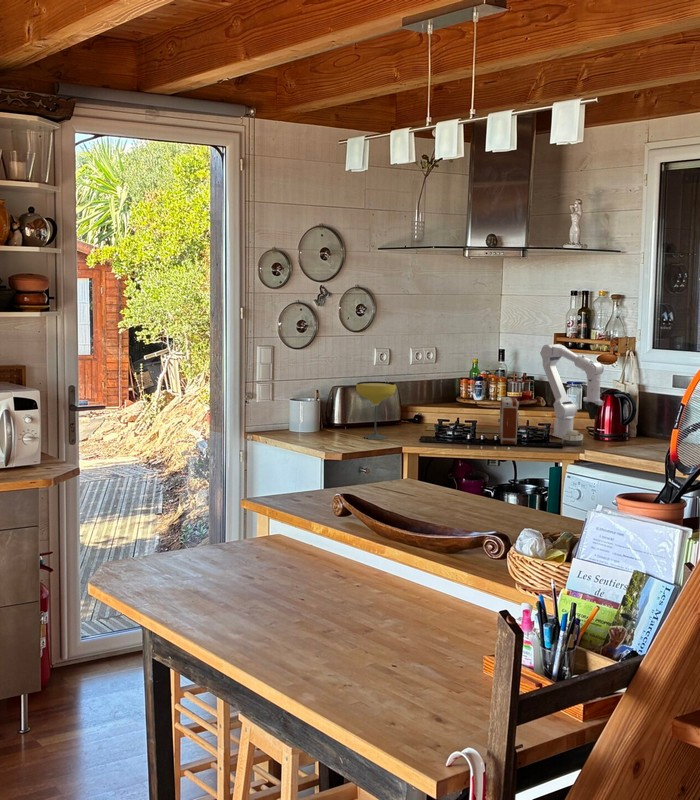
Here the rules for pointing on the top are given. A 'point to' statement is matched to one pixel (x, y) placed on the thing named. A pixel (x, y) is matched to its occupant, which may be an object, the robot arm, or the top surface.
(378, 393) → the cocktail glass
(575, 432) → the lens cap
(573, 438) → the lens barrel
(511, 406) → the cine camera
